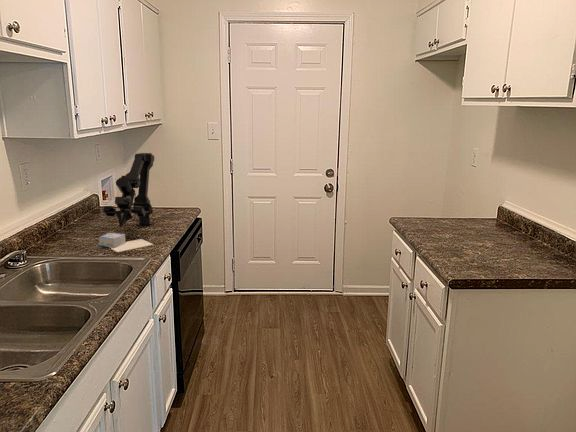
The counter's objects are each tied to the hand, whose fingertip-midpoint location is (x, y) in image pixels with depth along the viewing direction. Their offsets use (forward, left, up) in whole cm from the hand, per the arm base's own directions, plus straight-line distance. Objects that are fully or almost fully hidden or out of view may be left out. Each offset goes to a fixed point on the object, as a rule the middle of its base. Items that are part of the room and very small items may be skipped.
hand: (120, 226), depth 218 cm
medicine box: (+1, -2, -5) cm, 5 cm away
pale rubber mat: (+9, 0, -7) cm, 12 cm away
